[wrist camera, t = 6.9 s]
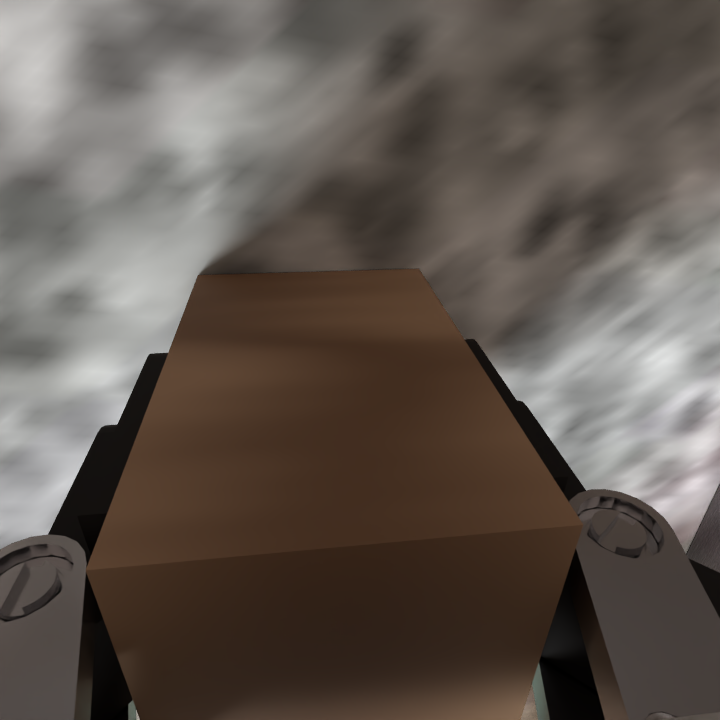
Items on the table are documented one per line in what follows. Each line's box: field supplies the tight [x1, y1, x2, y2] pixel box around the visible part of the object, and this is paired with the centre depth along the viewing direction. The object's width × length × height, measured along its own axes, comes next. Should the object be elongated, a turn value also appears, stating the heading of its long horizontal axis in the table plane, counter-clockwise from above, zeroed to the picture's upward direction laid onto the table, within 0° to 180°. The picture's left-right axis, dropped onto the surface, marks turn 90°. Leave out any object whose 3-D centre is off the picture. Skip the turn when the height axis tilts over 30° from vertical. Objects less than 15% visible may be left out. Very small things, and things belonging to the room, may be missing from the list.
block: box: [86, 269, 583, 720], centre depth 9 cm, size 4×4×7 cm
